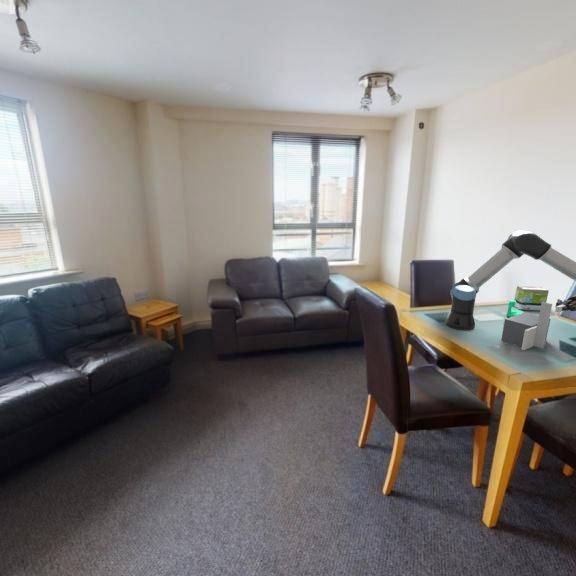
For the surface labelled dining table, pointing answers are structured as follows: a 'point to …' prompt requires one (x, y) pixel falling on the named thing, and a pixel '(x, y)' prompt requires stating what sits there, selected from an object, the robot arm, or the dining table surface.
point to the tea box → (530, 297)
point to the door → (538, 329)
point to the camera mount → (512, 312)
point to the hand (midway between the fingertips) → (557, 309)
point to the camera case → (519, 327)
